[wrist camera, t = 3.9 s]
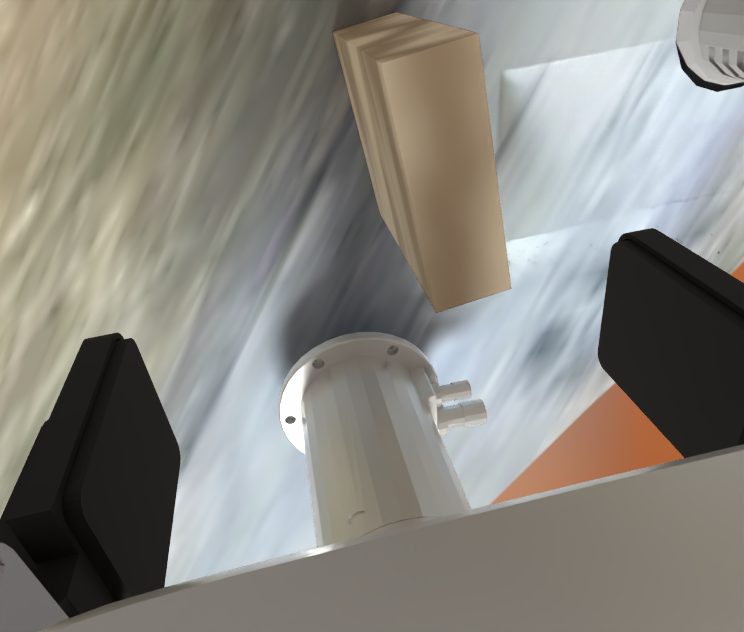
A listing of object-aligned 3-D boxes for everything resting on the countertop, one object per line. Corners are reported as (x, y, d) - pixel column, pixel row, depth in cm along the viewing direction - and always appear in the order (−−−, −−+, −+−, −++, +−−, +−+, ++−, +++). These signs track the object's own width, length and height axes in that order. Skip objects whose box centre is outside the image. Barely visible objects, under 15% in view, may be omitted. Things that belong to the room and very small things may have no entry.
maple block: (396, 12, 34) (478, 33, 22) (433, 196, 40) (511, 288, 28) (332, 31, 33) (380, 63, 22) (379, 213, 40) (436, 313, 28)
